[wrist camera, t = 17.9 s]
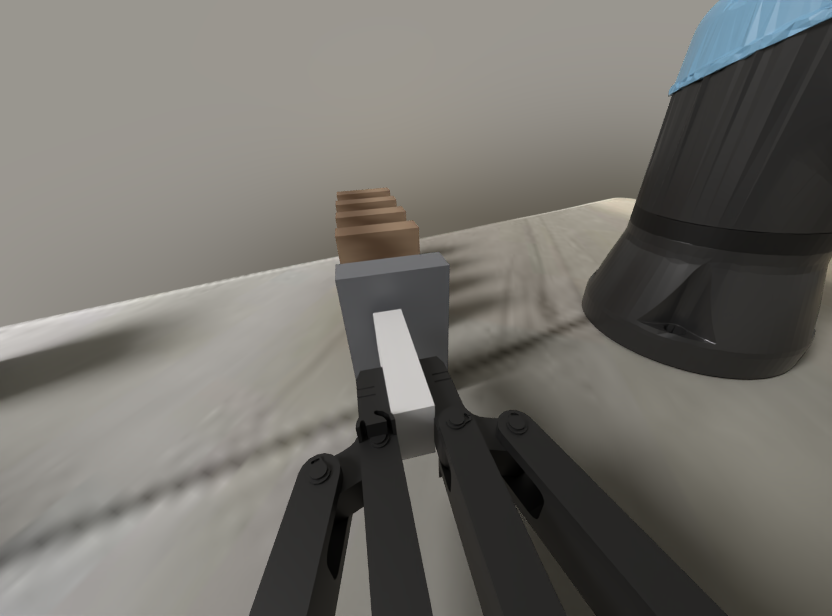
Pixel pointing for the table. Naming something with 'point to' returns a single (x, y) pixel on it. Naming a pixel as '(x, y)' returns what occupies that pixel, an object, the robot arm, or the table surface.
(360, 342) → the charcoal domino
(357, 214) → the walnut domino
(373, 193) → the walnut domino
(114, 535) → the table surface
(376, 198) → the walnut domino
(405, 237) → the walnut domino
